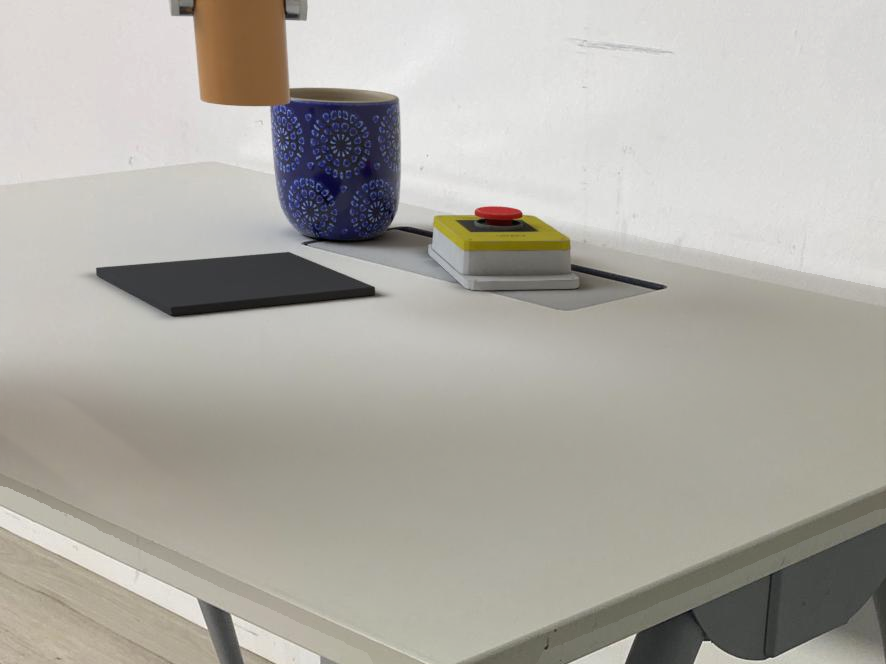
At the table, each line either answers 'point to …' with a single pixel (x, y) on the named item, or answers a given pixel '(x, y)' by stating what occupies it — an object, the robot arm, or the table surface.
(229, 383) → the table surface
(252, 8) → the pliers tin
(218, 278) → the mat
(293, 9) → the robot arm
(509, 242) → the emergency button
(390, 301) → the table surface
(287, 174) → the planter
